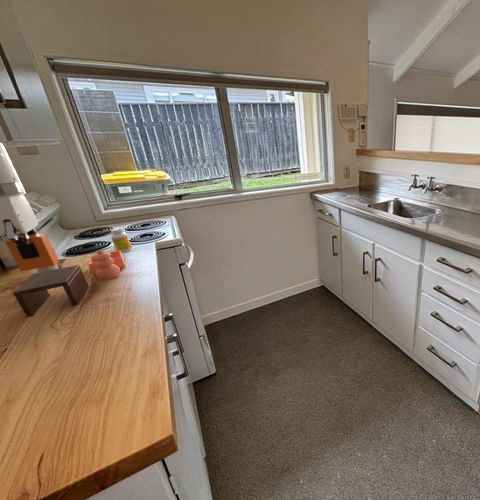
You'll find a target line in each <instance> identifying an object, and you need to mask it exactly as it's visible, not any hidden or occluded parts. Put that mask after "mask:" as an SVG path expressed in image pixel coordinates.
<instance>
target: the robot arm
mask: <svg viewBox="0 0 480 500" xmlns="http://www.w3.org/2000/svg"><path fill="white" fill-rule="evenodd" d="M26 194H27V192H26V189H25V188H24V186H23V184H22V182H21V179H20V176H19V175H18V173H17V171H16V168H15V167H14V164H13V162H12V160H11V159H10V156H9V154H8V152H7V150H6V148H5V146H4V144H3V143H2V142H1V141H0V236H1V237H4V238H5V237H6V238H7V240H11V241H13V242H14V244H15V246H16V247H17V248H18V250H19V252H20V254H21V256H22V258H23V259H29V258H35V257H38V256H39V254H38V251H37V249H36V247H35V245H34V243H31V241H30V239H29V236H28V235H31V234H38V233H39V232H38V229H37V227H38V225H39V221H38V218H37V216H36V214H35V212H34V210H33V208H32V207H31V204H30V203H29V201H28V199H27V198H26V197H25V195H26ZM17 232H20V233H17ZM18 236H23V237H24V238H22V237H18Z"/></svg>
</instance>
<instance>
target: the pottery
mask: <svg viewBox="0 0 480 500" xmlns="http://www.w3.org/2000/svg"><path fill="white" fill-rule="evenodd" d="M88 267H89V269H90V272H91V274H92V276H96V277H97V278H98V279H99V280H100V281H108V280H112V279H115V278H117V277H119V276H120V275H121V269H123V268H126V263H125V258H124V256H123V252H121V250H119V251H116V250H115V251H110V252H108V251H107V252H106V251H104V250H103V249H98V250H96V253H95V254H94V255H92V256H89V258H88Z"/></svg>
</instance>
